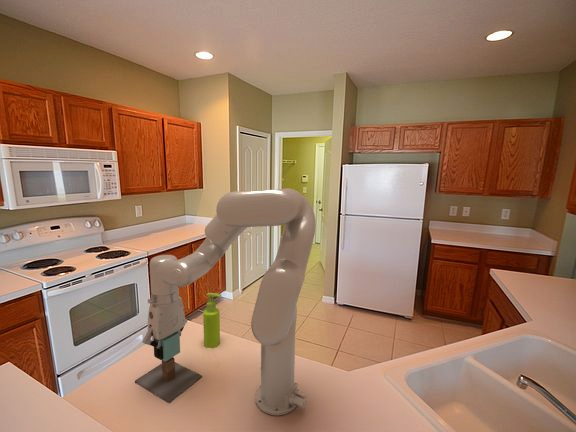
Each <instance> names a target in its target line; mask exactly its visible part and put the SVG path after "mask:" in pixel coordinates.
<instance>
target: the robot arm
mask: <svg viewBox="0 0 576 432" xmlns="http://www.w3.org/2000/svg"><path fill="white" fill-rule="evenodd" d="M215 211H216V214H215V216H214V217H213V218H212V219H211V220H210V221H209V222H208V223H207V224H206V225H205V228H204V234H205V236H206V237H205V239H204V241H203V242H201V244H200V245H199V246H198V248H197V249H196V250H194V252H193V253H191V254H189V255H186V256H184V257H182V258H180V259H178V258H177V256H176V255H173V254H160V255H156V256H154V257H152V258H151V259H150V261H149V276H150V277H149V278H150V298H148V299H147V303H148V304H149V307H148V313H147V314H148V315H147V332H146V334H145V335H144V337H143V340H142V343H143V344H145V345H148V346H151V347H153V356H154V357H155V358H156V359H158V360H160V361H162V359H163V347H161V344H162V339H164V338H166V337H168V336H169V335H171V334H173V333H175V332H180V337H181V336H182V332H183V330H184V329H185V326H186V324H187V323H188V319H187V318H186V315H185V308H184V307H185V306H184V303H183V299H182V297H181V296H179V294H180V293H179V292H180V291H179V287H180V288H184V287H187V286H190V285H191V284H193V283H194V282H195V281H197V280H198V279H199V278H202V277H203V276H204V275H206V274H207V273H208V272H209V271H210V270H211V269H212V268H213V267H214V266H215V265H216V264H217V263H218V261H220V260H221V258H222V257H223V256H224V255H225V253H226V252H227V251H228V250H229V248H230V247H231V245H233V243H234V242H235V241H236V240H237V238H239V236H241V234H242V233H243V232H244V231H245V230H246V229H247V228H254V227H255V228H256V227H257V228H260V227H277V226H278V227H279V226H283V225H284V226H283V229H282V230H283V231H282V233H281V236H280V239H279V240H280V241H279V245H278V249H277V252H276V256H275V258H274V261H272V264H271V265H270V266H269V267H268V269H267V270H266V271H265V272H264V275H263V277H262V279H261V281H260V285H259V289H258V292H257V296H256V300H255V303H254V309H253V311H252V316H251V323H250V328H251V332H252V334H253V336H254V338H255V340H256V341H257V342H258V343H260V385H258V387H257V389H256V391H255V403H256V405H257V407H258V408H259V410H260V411H262V412H264V413H265V414H268V415H271V416H282V415H287V414H288V413H291V412H292V411H294V410H295V408H296V407H299V408H301V409H305V408H306V405H307V400H305V399H306V397H307V396H306V395H307V394H306V393H305V392H302V391H299V388H298V387H299V386H298V385H299V384H298V383H297V382H295V368H296V367H295V362H296V361H295V358H296V328H297V327H296V325H297V317H298V315H297V314H298V307H297V303H298V300H299V297H300V294H301V290H302V287H303V285H304V282H305V277H306V272H307V271H306V270H307V267H308V263H309V259H310V255H311V251H312V247H313V243H314V238H315V236H316V224H317V223H316V216H315V212H314V209H313V207H312V205H311V203H310V202H309V200H308V199H307V198H306V196H304V195H303V194H302V193H301V192H299V191H298V190H296V189H293V188H288V187H287V188H278V189H277V188H276V189H267V190H254V191H253V190H252V191H246V190H240V191H238V190H237V191H231V192H227V193H225V194H224V195H222V197H220V199H218V202H217V205H216V210H215ZM157 340H158V341H157Z"/></svg>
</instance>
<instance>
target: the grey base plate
mask: <svg viewBox="0 0 576 432" xmlns="http://www.w3.org/2000/svg"><path fill="white" fill-rule="evenodd" d="M175 359H176V358H175V356H174V357H172V358H171V359H169V360H168V361H166V362H165V361H163V360H161V363H160V364H158V365H157V366H156V367H154V368H152V369H150V370H149V371H147V372H146V373H145V374H143V375H142V376H141V375H140V377H138V378H137V379H135V380H134V383H135V384H137V385H138V386H140V387H142V388H143V389H145V390H146V391H148V392H149V393H151V394H153V395H155V396H157V397H158V398H159V399H161V400H162V401H165V402H166V403H168V404H171V403H172V402H173V401H174V400H176V398H178V397H179V396H180V395H182V394H183V393H184V392H186V391H187V390H188V389H189V388H191V387H192V385H194V384H195V383H197V382H198V381H199V380H200V379H202V378H203V375H202V374H200V373H198V372H196V371H194V370H192V369H190V368H189V367H186V366H183V365H182V364H180V363H178V362H176V360H175Z"/></svg>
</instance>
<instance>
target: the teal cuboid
mask: <svg viewBox="0 0 576 432" xmlns="http://www.w3.org/2000/svg"><path fill="white" fill-rule="evenodd" d="M180 339H181V336H180V332H175V333H173V334H171V335H169V336H168V337H166V338H164V339H162V344H161V347H163V359H162V360H163V361H165V362H166V361H168V360H169V359H171V358H172V357H174V358H175V357H176V356H177V355H178V354H180V353H181V340H180ZM157 341H158V340H157ZM162 360H161V361H162Z"/></svg>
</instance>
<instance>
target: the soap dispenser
mask: <svg viewBox="0 0 576 432" xmlns="http://www.w3.org/2000/svg"><path fill="white" fill-rule="evenodd" d="M221 296H222V294H221V293H217V292H208V293H207V294H206V297H208V300H207V302H206V309H204V310H203V311H202V317H203V320H202V321H203V322H202V323H203V346H204V347H205V348H207V349H213V348H217V347H218V346H219V345H220V344H221V333H220V332H221V327H220V318H221V316H220V309H219V308H218V307H217V303H216V302H217V301H216V300H214V298H219V299H220V297H221Z"/></svg>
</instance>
